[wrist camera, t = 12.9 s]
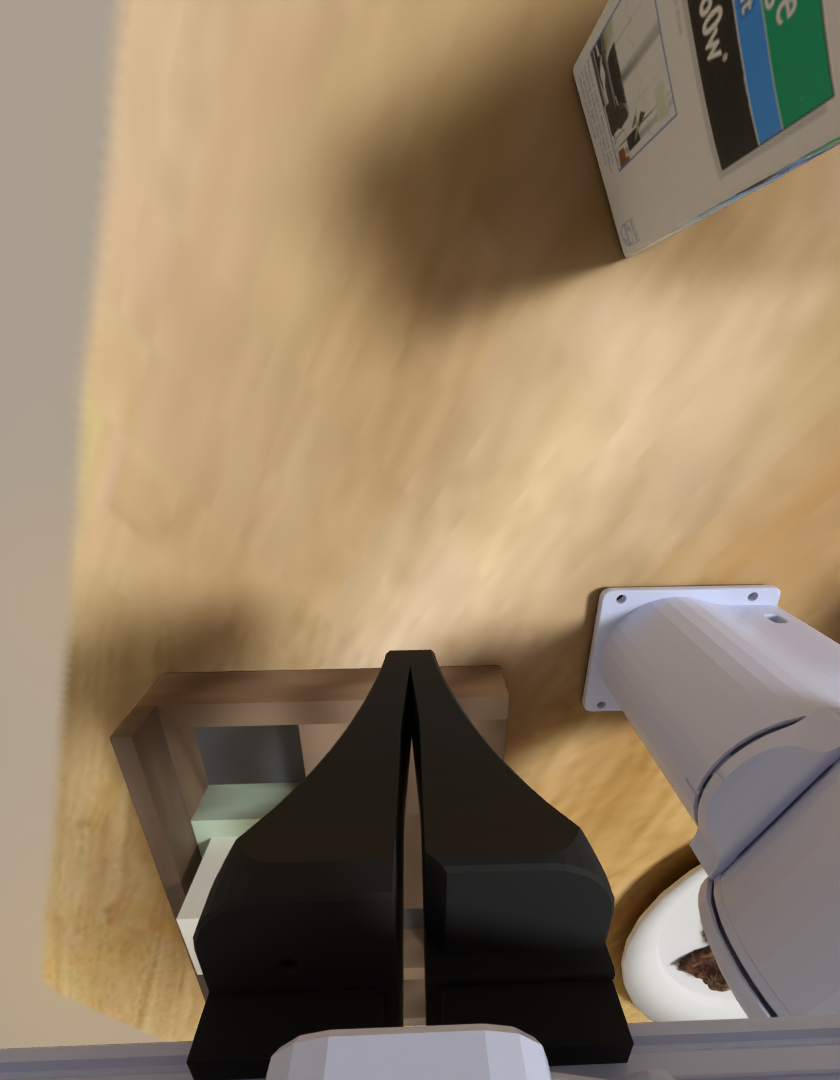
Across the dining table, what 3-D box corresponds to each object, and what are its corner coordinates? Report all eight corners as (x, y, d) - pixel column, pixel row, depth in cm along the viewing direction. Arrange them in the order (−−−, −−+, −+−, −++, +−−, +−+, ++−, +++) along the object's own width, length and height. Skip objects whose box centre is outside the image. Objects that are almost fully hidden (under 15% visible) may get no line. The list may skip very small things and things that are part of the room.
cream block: (295, 834, 25) (275, 915, 21) (305, 887, 27) (289, 970, 23) (211, 837, 25) (176, 919, 21) (227, 890, 26) (197, 974, 23)
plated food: (668, 781, 28) (701, 831, 25) (1081, 790, 29) (1163, 839, 26) (579, 1014, 39) (594, 1070, 35) (885, 1013, 40) (926, 1067, 37)
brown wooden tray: (499, 665, 24) (518, 726, 20) (479, 941, 33) (489, 1022, 29) (163, 673, 23) (109, 737, 19) (241, 950, 33) (217, 1033, 29)
